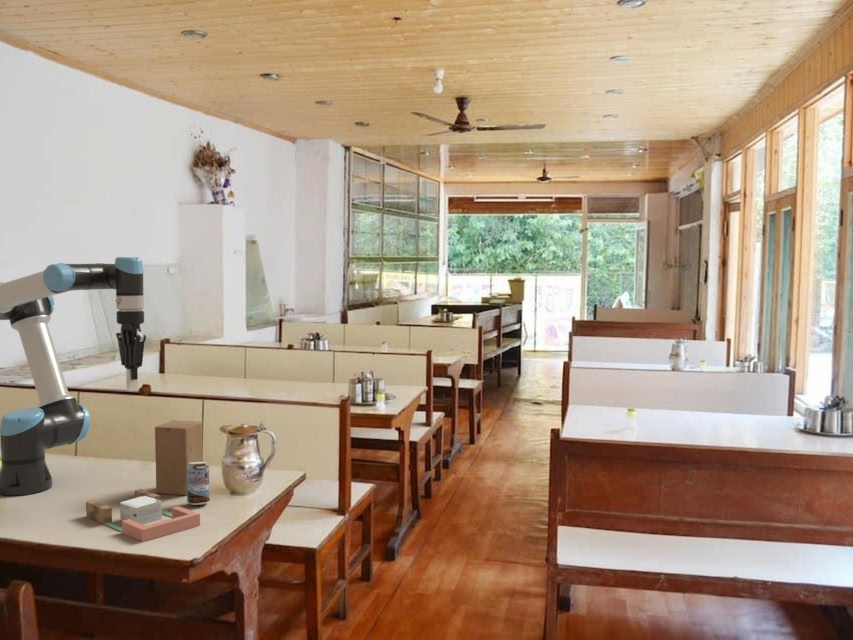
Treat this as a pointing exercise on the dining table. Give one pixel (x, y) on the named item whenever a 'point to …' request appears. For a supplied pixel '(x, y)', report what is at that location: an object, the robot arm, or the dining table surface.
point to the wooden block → (176, 454)
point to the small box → (141, 509)
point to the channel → (105, 512)
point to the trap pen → (162, 525)
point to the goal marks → (121, 527)
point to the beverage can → (198, 483)
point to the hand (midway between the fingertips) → (132, 390)
